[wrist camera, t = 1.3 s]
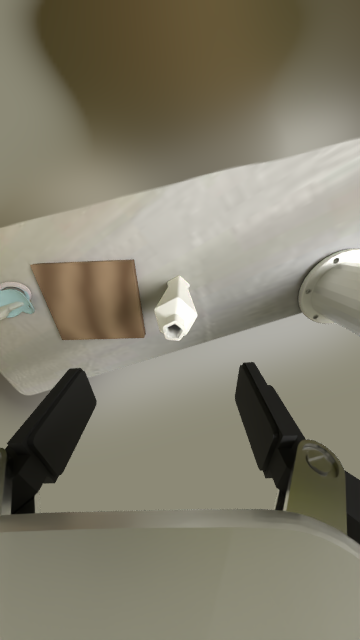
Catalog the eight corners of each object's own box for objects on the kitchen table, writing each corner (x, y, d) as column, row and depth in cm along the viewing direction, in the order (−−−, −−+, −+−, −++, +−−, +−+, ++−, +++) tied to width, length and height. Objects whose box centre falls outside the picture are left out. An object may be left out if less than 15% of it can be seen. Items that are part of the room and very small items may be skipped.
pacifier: (-9, 284, 29) (11, 315, 32) (-56, 294, 23) (-26, 331, 26) (28, 277, 28) (46, 309, 31) (-10, 285, 23) (15, 324, 25)
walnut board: (133, 259, 27) (131, 260, 25) (145, 333, 33) (144, 337, 32) (37, 263, 27) (30, 264, 26) (67, 335, 33) (62, 340, 32)
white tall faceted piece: (173, 304, 30) (166, 358, 17) (160, 283, 28) (141, 325, 15) (196, 292, 29) (207, 340, 16) (184, 270, 27) (186, 302, 14)
